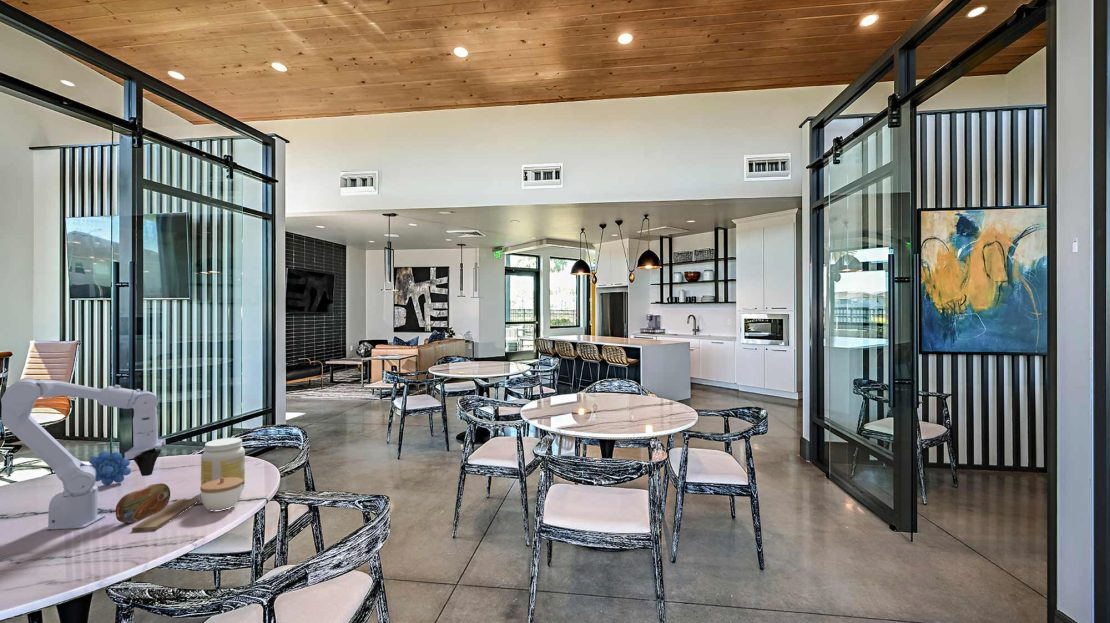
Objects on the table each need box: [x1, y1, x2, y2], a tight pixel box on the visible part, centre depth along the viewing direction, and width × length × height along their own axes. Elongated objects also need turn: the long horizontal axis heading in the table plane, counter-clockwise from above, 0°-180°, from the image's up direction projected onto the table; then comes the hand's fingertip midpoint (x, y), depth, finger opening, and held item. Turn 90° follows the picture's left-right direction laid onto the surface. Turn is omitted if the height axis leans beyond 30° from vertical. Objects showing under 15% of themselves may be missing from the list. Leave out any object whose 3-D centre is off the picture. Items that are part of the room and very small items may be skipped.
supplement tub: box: [200, 437, 246, 489], centre depth 159 cm, size 12×12×17 cm
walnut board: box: [131, 498, 200, 533], centre depth 139 cm, size 6×20×1 cm, turn 9°
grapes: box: [88, 450, 132, 486], centre depth 163 cm, size 12×7×12 cm, turn 126°
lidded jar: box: [200, 477, 243, 511], centre depth 145 cm, size 11×11×9 cm
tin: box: [115, 482, 171, 524], centre depth 139 cm, size 15×3×8 cm, turn 175°
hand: (146, 475), depth 144 cm, fingers closed
